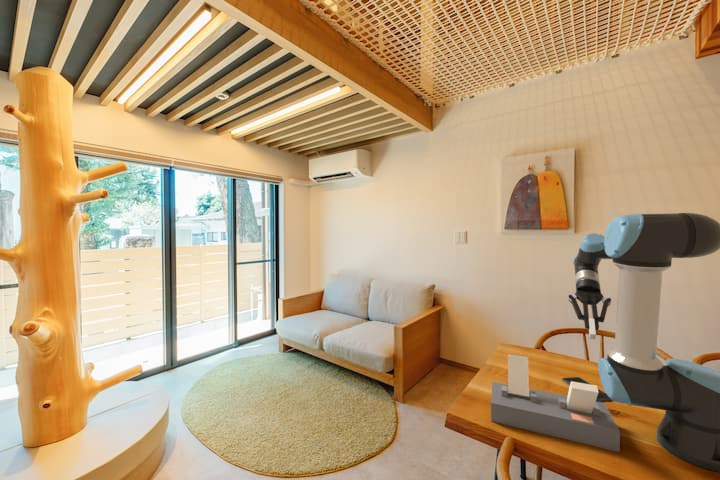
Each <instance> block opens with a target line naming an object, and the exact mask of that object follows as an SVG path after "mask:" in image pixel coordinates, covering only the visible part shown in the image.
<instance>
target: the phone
mask: <svg viewBox="0 0 720 480" xmlns="http://www.w3.org/2000/svg"><path fill="white" fill-rule="evenodd" d="M571 381H573V382H579V383H584V384H590V385H592V383H590V382H589V381H586V380H585V379H584V378H582V377H578V376H575V377H573V376H571V377H563V378H562V382H563V383H565V384H567V386H568V387H570V383H571ZM598 392H599V393H598V396H597V399H596V401H597V402H611V401H613V400H612V399H610V398H609V397H608V395H607V394H606V392H605V391H603V390H601V389H599V388H598Z"/></svg>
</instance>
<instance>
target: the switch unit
mask: <svg viewBox="0 0 720 480" xmlns="http://www.w3.org/2000/svg"><path fill="white" fill-rule="evenodd" d="M567 396H568V395H565V394H559V393H553V392H548V391H544V390H538V389H532V388H529V397H528V396H523V395H518V394H513V393H508V384H507V383H506V384H505V383H501V382H496V381H492V384H491V400H490V401H491V402H490V416H491V417H490V421H491V422H493V423H496V424H501V425H505V426H509V427H513V428H517V429H522V430H526V431H529V432H534V433H539V434H543V435H547V436H552V437H555V438H559V439H564V440H568V441H572V442H575V443H580V444H584V445H589V446H592V447H595V448H601V449H605V450H609V451H613V452H616V453H620V452H621V451H620V450H621V448H620V447H621V430H620V429H619V427H618V424H617V423H616V421H615V419H614V418H613V416H612V415H611V413H610V411H609V409H608V407H607V406H606V404H605V402H603V401H600V402H597V401H596V402H595V405H594V408H593V411H592V414H590V413H586V412H581V411H576V410H571V409H567V405H566V400H567Z"/></svg>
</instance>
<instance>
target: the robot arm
mask: <svg viewBox="0 0 720 480" xmlns="http://www.w3.org/2000/svg"><path fill="white" fill-rule="evenodd" d="M717 251H720V223H719V221H717V220H715V219H714V218H713V217H709V216H708V215H704V214H700V213H694V212H679V213H635V214H624V215H619V216H616V217H614V219H612V220H611V222H610V223H609V224H608V226H607V228H606V230H605V235H603V234H600V233H599V234H597V233H594V232H592V233H588V234H586V235H584V236H583V238H582V240H581V242H580V245H579V250H578V253H577V254H575V256H574V260H573V266H574V276H575V277H574V278H575V293H574V294H568V301H569V302H570V304H571V306H572V308H573V310H574V312H575V315H576V316H577V319H578V320H580V321H581V320H582V321H583V323H584V329H587V330H588V333H589V340H590V339H591V340H596V337H597V332H596V331H599V327H600V324H599V323H605V319H606V316H607V315H606V313H607V310H608V307H609V306H610V305H611V304H612V298H611V297H604V295H603V293H602V290H601V284H600V276H599V265H600V263H601V261H602V260H612V264H614V265H615V266H616V267H617V268H618V283H617V299H616V302H617V303H616V318H615V319H616V320H615V334H614V335H615V336H614V337H615V338H614V347H612V348H610V349H609V350H607V357H602V358H601V357H600V358H599V359H598V362H597V369H598V374H599V375H598V376H599V379H600V382H601V386H602V388H603V390H604V393H606V394H607V395H608V397H609V398H610V399H612V401H613V402H615V403H620V404H625V405H628V406H630V407H632V406H635V407H636V406H637V407H642V408H648V409H653V410H661V411H665V413H664V415H663V417H662V418H661V420H660V422H659V423H658V426H657V427H656V438H655V439H656V440H657V442H658V443H659V444H660V445H661V447H663V448H664V449H665V450H667V451H668V452H669V453H670V454H672V455H674V456H675V457H678V458H680V459H681V460H683V461H686V462H687V463H689V464H692V465H694V466H697V467H700V468H702V469H706V470H709V471H713V472H718V473H720V372H719V371H717V370H715V369H713V368H710V367H708V366H705V365H703V364H700V363H696V362H693V361H689V360H684V359H678V358H668V359H667V360H666V362H665V365H664V363H663V362H662V360H660V359H659V357H657V347H658V333H659V321H660V320H659V319H660V308H661V294H662V281H663V278H662V277H663V272H665V271H666V270H668V269H670V268H671V267H672V261H673V259H685V258H686V259H690V258H691V259H692V258H699V257H706V256H709V255H712V254H714V253H716V252H717ZM577 300H578V301H579V302H580V303H582V308H583V309H582V310H583V311H581V308H580V306H579V304H578V301H577ZM601 302H602V309H601V311H600V316H599V314H598V304H599V303H601ZM589 306H590V307H591V313H592V318H591V317H590V315H589ZM582 312H583V313H582Z"/></svg>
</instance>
